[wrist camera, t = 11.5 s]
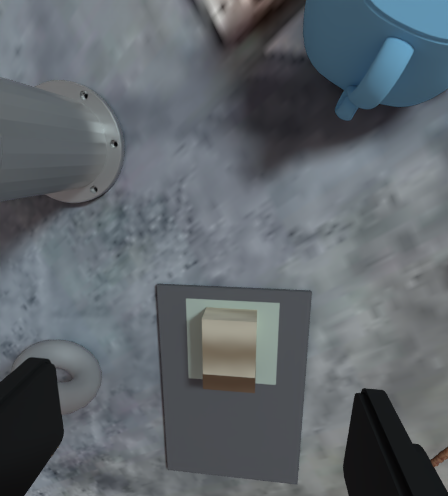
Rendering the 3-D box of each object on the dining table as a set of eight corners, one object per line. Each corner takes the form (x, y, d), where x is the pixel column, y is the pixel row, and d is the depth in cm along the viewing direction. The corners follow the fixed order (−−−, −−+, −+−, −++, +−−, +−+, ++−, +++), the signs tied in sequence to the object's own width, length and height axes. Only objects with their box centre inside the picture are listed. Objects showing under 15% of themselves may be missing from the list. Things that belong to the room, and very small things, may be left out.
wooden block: (255, 376, 41) (254, 393, 38) (207, 372, 41) (202, 389, 39) (257, 309, 38) (256, 322, 35) (206, 307, 39) (201, 319, 36)
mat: (168, 466, 47) (167, 470, 47) (157, 283, 40) (156, 285, 39) (296, 481, 45) (297, 484, 44) (311, 290, 38) (311, 292, 37)
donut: (119, 360, 43) (78, 417, 34) (109, 378, 44) (66, 439, 35) (53, 321, 43) (-8, 368, 33) (44, 341, 44) (-18, 392, 34)
